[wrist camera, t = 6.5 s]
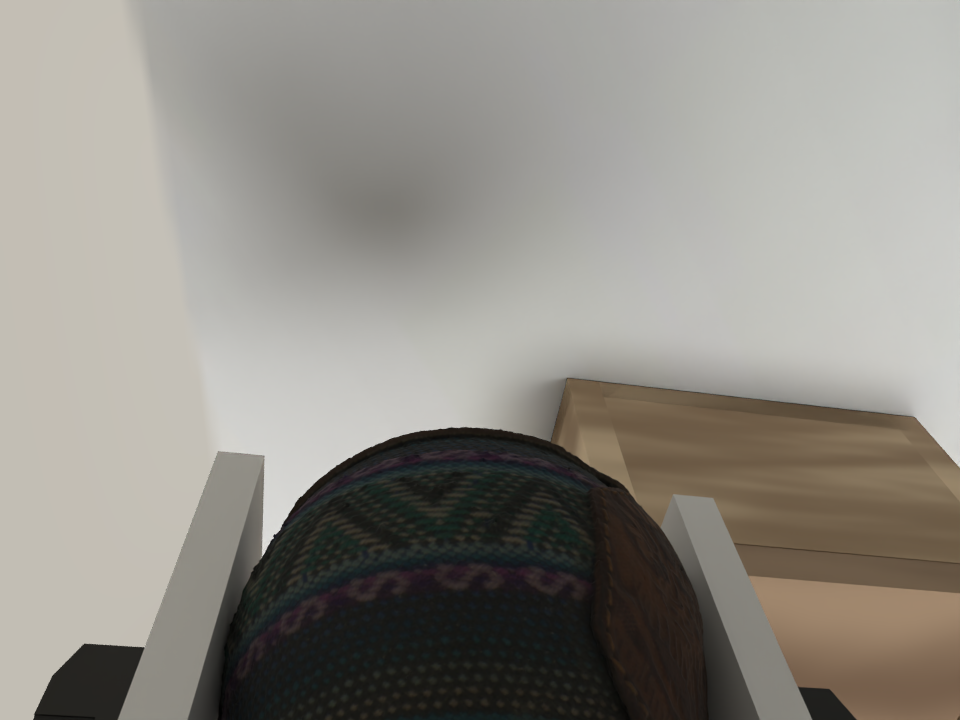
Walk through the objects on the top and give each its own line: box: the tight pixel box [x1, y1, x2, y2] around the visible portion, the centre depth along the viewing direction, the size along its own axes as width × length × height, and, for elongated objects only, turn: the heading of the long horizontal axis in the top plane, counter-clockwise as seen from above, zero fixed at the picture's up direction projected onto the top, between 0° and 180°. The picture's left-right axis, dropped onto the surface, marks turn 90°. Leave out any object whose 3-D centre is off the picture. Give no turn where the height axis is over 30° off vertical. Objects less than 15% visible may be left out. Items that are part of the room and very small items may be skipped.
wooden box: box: [551, 378, 960, 720], centre depth 31 cm, size 20×14×9 cm
